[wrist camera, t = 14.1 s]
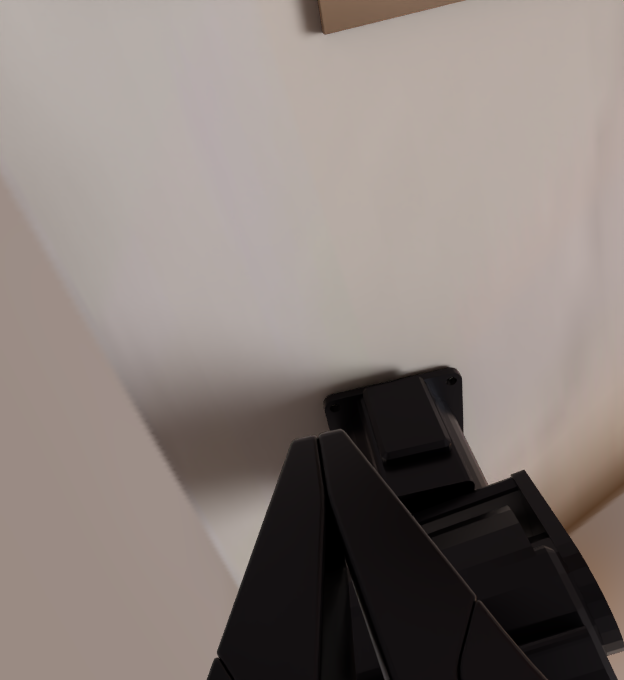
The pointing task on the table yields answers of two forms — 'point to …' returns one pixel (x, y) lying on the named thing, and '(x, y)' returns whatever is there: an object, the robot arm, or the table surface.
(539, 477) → the table surface
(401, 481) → the robot arm
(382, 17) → the taupe inverted t block
